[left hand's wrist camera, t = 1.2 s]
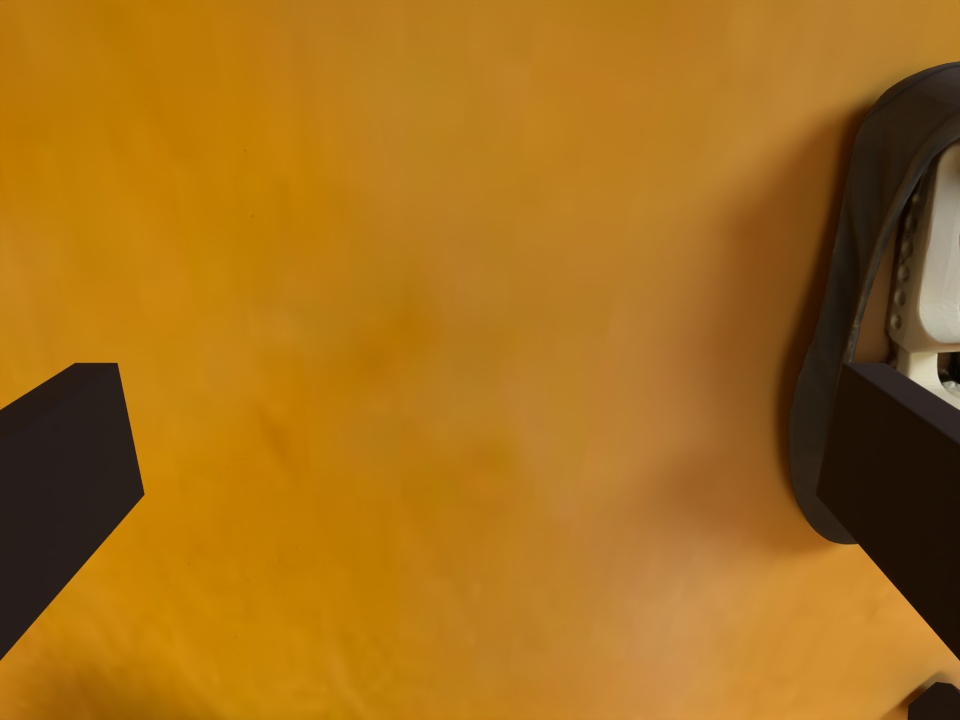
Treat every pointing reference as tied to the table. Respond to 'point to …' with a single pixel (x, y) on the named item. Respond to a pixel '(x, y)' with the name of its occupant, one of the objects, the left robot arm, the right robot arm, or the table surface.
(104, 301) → the table surface
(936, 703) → the toy gun
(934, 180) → the ballet flat
